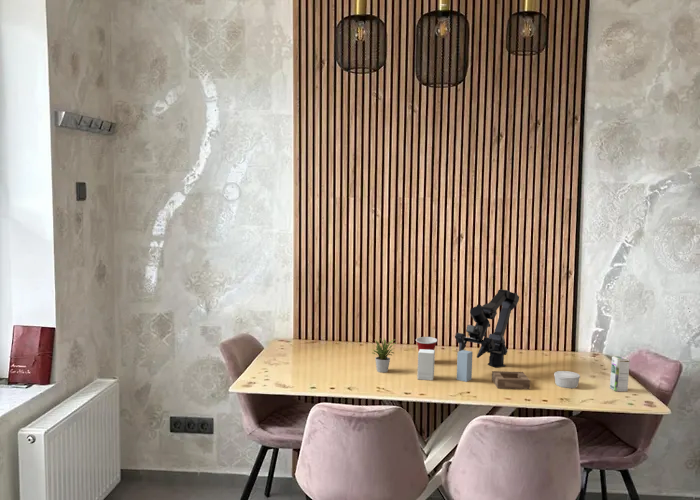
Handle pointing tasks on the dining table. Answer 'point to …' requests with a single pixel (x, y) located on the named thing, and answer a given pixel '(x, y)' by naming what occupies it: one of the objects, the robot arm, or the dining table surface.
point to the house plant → (383, 356)
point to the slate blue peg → (464, 365)
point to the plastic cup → (426, 343)
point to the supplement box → (426, 364)
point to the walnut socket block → (510, 380)
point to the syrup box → (619, 373)
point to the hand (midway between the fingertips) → (468, 355)
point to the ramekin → (566, 379)
